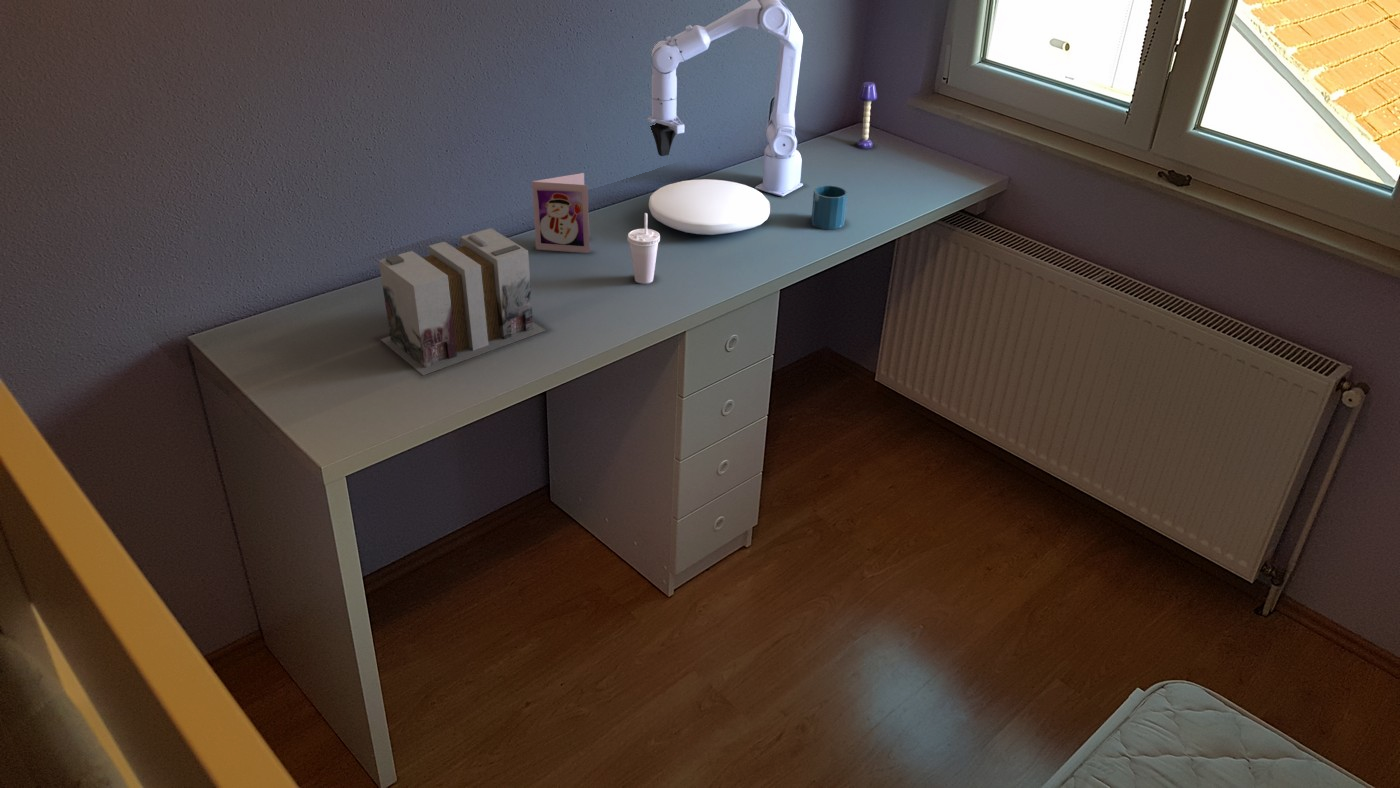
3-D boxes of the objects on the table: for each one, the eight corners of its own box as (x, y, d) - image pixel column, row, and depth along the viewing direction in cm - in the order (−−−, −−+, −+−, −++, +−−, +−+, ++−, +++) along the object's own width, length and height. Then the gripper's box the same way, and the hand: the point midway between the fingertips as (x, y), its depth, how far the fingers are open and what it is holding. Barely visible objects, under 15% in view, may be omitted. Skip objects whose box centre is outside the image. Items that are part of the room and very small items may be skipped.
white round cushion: (701, 166, 255) (794, 195, 241) (698, 193, 258) (791, 222, 244) (624, 188, 234) (722, 221, 221) (622, 217, 237) (719, 250, 224)
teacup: (822, 214, 244) (825, 182, 240) (850, 222, 241) (853, 190, 237) (805, 223, 239) (807, 192, 235) (833, 232, 236) (836, 200, 232)
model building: (380, 339, 192) (366, 256, 183) (500, 299, 206) (493, 220, 197) (423, 375, 182) (411, 290, 173) (546, 330, 196) (541, 249, 187)
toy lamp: (856, 149, 282) (862, 85, 273) (852, 143, 285) (858, 80, 276) (874, 148, 282) (881, 85, 273) (870, 142, 286) (877, 80, 277)
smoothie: (666, 280, 214) (667, 215, 207) (642, 289, 210) (641, 223, 203) (645, 269, 218) (645, 205, 211) (621, 278, 214) (620, 213, 207)
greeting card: (535, 250, 224) (530, 183, 216) (543, 236, 231) (539, 169, 222) (588, 254, 223) (586, 186, 215) (595, 240, 230) (593, 173, 222)
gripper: (632, 91, 245) (633, 148, 253) (665, 108, 235) (665, 167, 243) (658, 86, 249) (658, 143, 256) (692, 103, 239) (691, 162, 246)
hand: (663, 154), depth 250 cm, fingers closed
